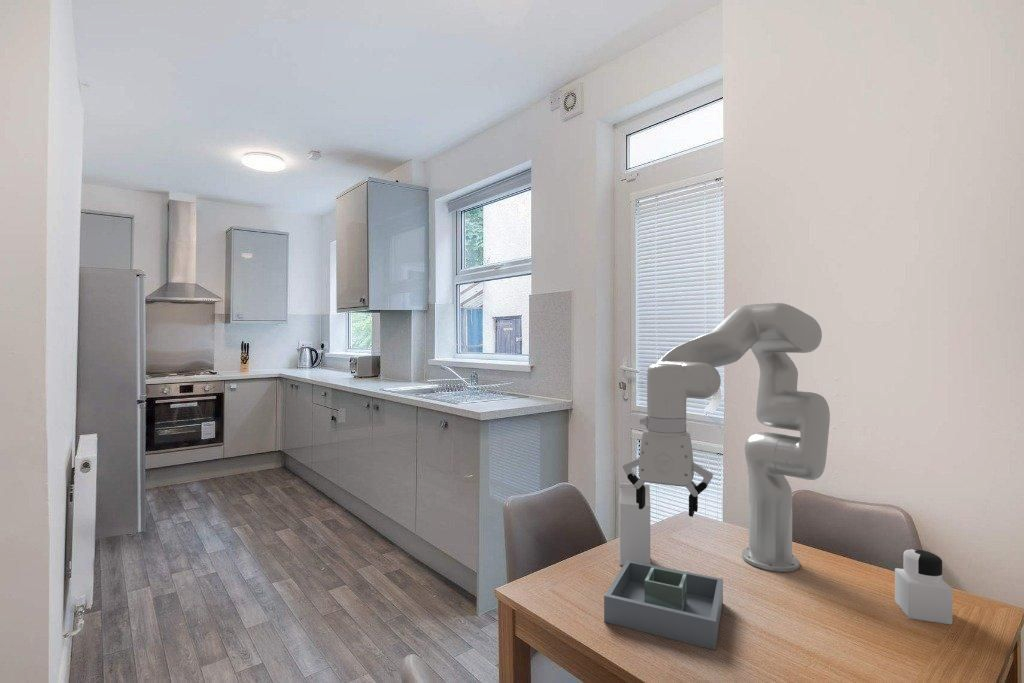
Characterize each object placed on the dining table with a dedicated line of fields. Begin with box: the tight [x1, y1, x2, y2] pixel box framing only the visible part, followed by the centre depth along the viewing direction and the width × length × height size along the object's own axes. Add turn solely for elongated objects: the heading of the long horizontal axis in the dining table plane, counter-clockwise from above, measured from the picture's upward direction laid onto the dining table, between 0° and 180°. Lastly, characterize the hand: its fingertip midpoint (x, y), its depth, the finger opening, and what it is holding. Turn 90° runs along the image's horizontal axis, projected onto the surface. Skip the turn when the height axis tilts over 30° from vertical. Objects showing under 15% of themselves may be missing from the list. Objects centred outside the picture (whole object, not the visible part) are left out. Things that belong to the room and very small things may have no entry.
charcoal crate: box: [603, 560, 724, 651], centre depth 101 cm, size 18×20×5 cm
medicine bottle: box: [894, 548, 953, 626], centre depth 101 cm, size 7×7×12 cm
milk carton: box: [619, 482, 651, 566], centre depth 125 cm, size 7×7×19 cm
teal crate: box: [644, 567, 687, 611], centre depth 101 cm, size 7×7×6 cm
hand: (666, 510), depth 101 cm, fingers open, 9 cm apart
